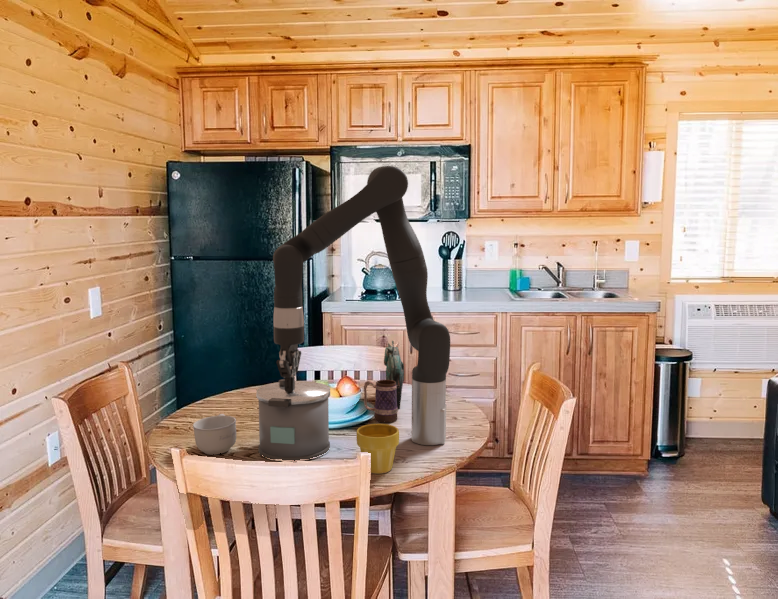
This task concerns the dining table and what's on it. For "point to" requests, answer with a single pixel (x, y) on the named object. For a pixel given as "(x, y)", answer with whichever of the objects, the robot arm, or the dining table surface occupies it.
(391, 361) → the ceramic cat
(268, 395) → the cooker lid
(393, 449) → the plant pot
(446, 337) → the robot arm
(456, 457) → the dining table surface
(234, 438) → the teacup
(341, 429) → the dining table surface
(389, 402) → the mug
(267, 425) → the cooker
